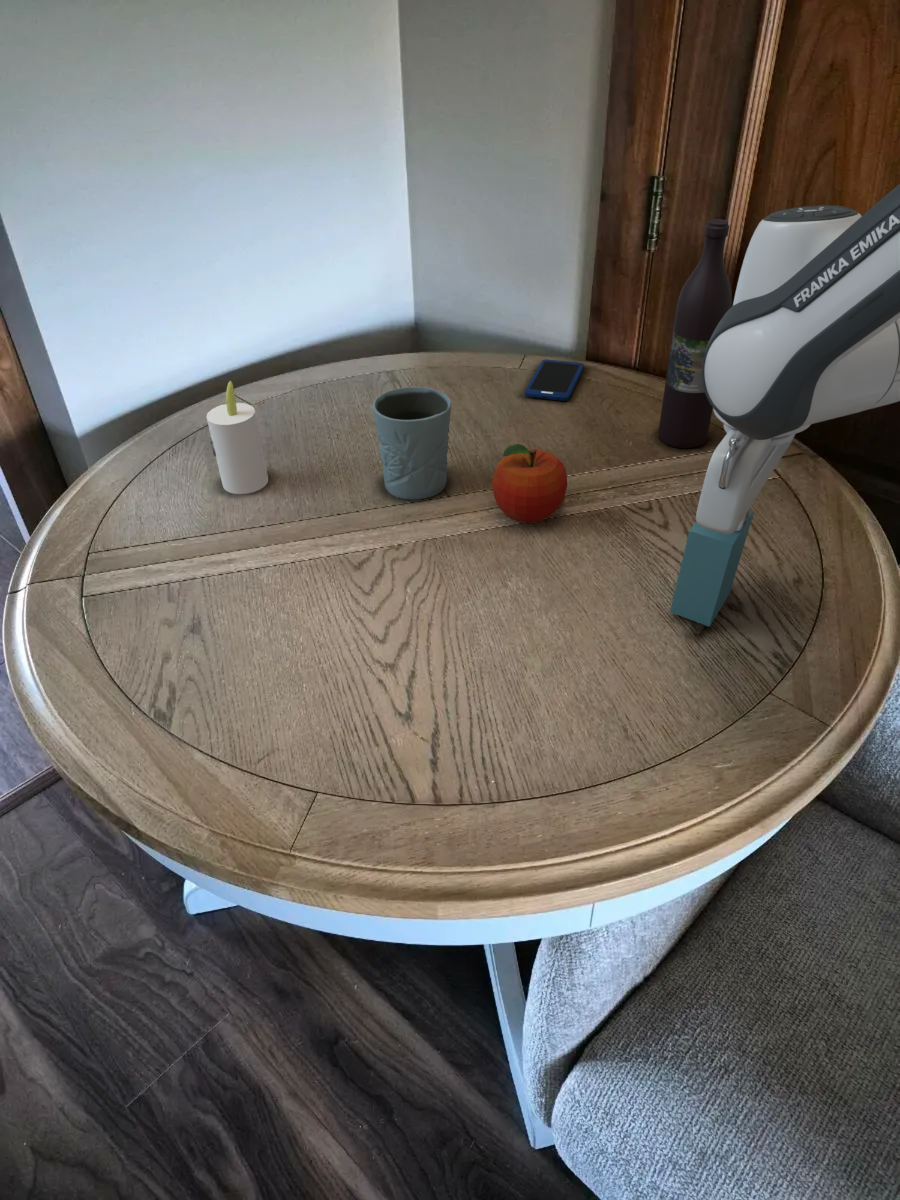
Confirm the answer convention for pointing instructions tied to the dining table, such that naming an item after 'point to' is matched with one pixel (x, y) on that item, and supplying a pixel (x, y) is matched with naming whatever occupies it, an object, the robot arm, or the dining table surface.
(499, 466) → the fruit
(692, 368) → the wine bottle
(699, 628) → the stop strip
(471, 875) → the dining table surface
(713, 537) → the teal labeled box
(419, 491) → the blue grey cup
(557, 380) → the cell phone
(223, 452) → the candle
